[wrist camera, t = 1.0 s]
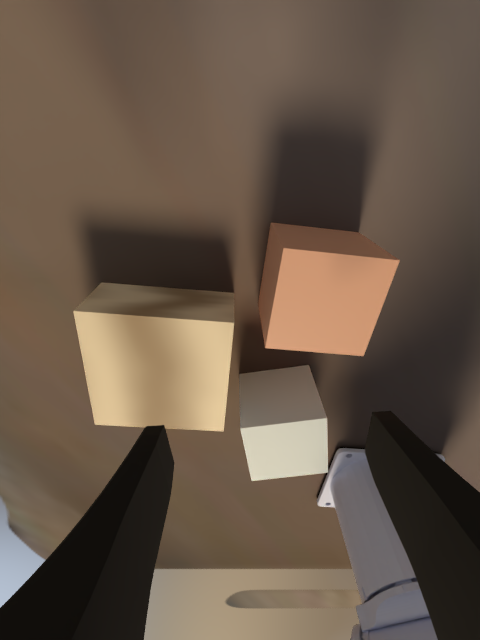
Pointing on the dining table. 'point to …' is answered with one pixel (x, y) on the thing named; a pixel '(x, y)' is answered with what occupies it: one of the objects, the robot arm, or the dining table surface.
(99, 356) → the maple block
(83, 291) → the dining table surface
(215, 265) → the dining table surface
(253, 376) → the off-white cube
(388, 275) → the terracotta cube
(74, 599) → the robot arm
